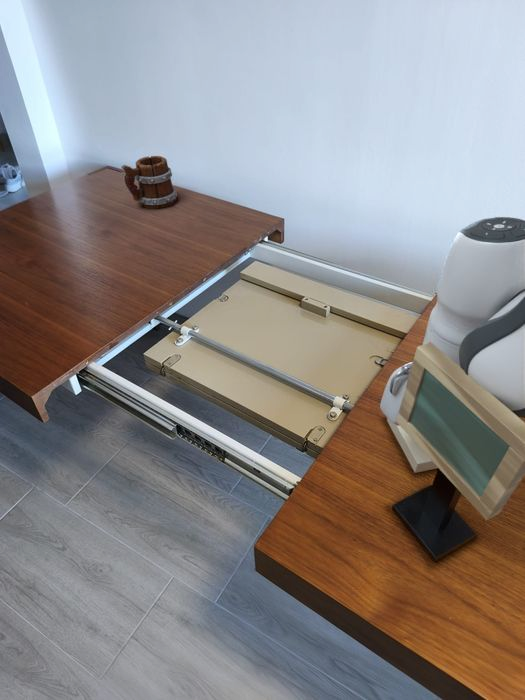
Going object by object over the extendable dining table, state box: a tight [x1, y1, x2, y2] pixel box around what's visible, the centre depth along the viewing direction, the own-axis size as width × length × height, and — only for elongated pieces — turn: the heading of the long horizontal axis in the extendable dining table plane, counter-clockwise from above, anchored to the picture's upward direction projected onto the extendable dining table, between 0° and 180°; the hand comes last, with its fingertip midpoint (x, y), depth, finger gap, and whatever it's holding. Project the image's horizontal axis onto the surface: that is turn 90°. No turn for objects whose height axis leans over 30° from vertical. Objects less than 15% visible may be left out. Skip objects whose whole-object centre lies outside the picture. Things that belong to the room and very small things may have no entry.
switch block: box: [386, 417, 438, 474], centre depth 70 cm, size 10×10×4 cm
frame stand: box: [391, 468, 477, 563], centre depth 54 cm, size 6×8×22 cm
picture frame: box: [396, 342, 525, 521], centre depth 47 cm, size 2×14×12 cm, turn 27°
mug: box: [120, 155, 178, 210], centre depth 135 cm, size 12×14×15 cm
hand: (437, 416), depth 68 cm, fingers closed, pressing on light button
